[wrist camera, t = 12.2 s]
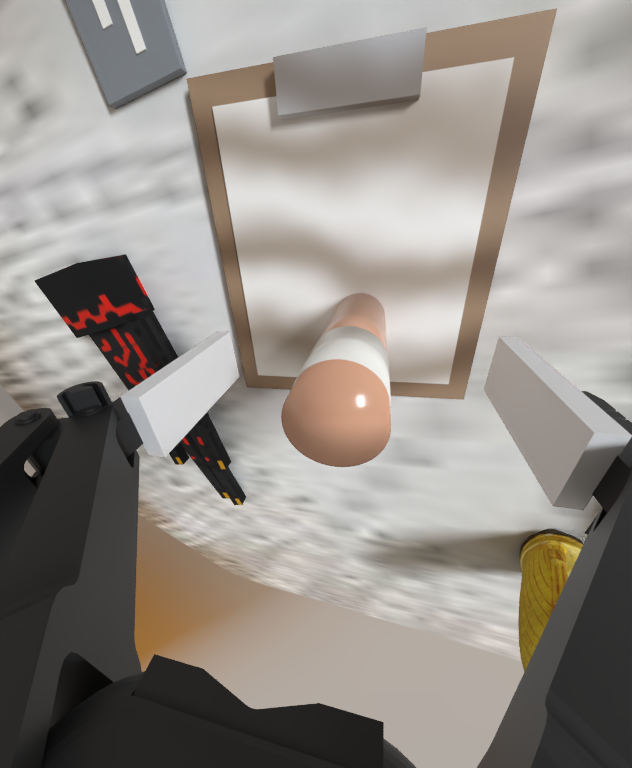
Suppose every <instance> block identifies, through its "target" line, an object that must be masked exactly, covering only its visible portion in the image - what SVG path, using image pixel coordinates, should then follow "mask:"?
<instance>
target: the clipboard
mask: <svg viewBox="0 0 632 768" xmlns="http://www.w3.org/2000/svg"><path fill="white" fill-rule="evenodd" d="M556 10H557V9H552V10H546V11H541V12H536V13H531V14H525V15H520V16H515V17H509V18H504V19H499V20H494V21H488V22H483V23H478V24H473V25H467V26H462V27H457V28H452V29H446V30H441V31H436V32H430V33H426V29H427V27H426V28H421V29H416V30H411V31H406V32H401V33H396V34H390V35H385V36H380V37H375V38H370V39H365V40H359V41H354V42H349V43H344V44H339V45H334V46H328V47H323V48H318V49H313V50H308V51H303V52H297V53H292V54H287V55H282V56H277V57H273V61H274V62H272V63H267V64H262V65H257V66H251V67H246V68H241V69H236V70H230V71H225V72H220V73H215V74H209V75H204V76H199V77H193V78H188V79H187V83H188V88H189V94H190V99H191V104H192V109H193V114H194V119H195V124H196V129H197V134H198V140H199V145H200V150H201V155H202V160H203V165H204V170H205V175H206V180H207V185H208V191H209V196H210V201H211V206H212V211H213V216H214V221H215V226H216V231H217V236H218V242H219V247H220V252H221V257H222V262H223V267H224V272H225V277H226V282H227V288H228V293H229V298H230V303H231V308H232V313H233V318H234V323H235V328H236V333H237V339H238V344H239V349H240V354H241V359H242V364H243V369H244V374H245V379H246V385H247V387H255V388H272V389H290V390H292V388H293V384H294V382H295V380H296V378H297V376H298V375H299V373H300V371H301V369H302V367H303V366H304V364H305V362H306V360H307V359H308V357H309V355H310V353H311V351H312V350H313V348H314V346H315V344H316V343H317V341H318V340H319V339H320V337H321V336H322V334H323V332H324V330H325V328H326V327H327V325H328V323H329V321H330V319H331V317H332V316H333V314H334V312H335V310H336V308H337V307H338V305H339V304H340V302H341V301H342V300H343V299H344V298H346V297H347V296H349V295H352V294H356V293H365V294H369V295H371V296H373V297H375V298H376V299H377V300H378V301H379V302H380V303H381V304H382V306H383V308H384V311H385V319H386V339H387V354H388V360H389V376H390V393H391V395H395V396H412V397H430V398H447V399H464V396H465V392H466V388H467V384H468V379H469V375H470V371H471V367H472V363H473V358H474V354H475V350H476V346H477V342H478V337H479V333H480V329H481V325H482V321H483V317H484V312H485V308H486V304H487V300H488V296H489V291H490V287H491V283H492V279H493V275H494V270H495V266H496V262H497V258H498V254H499V249H500V245H501V241H502V237H503V233H504V228H505V224H506V220H507V216H508V212H509V207H510V203H511V199H512V195H513V191H514V187H515V182H516V178H517V174H518V170H519V166H520V161H521V157H522V153H523V149H524V145H525V140H526V136H527V132H528V128H529V124H530V119H531V115H532V111H533V107H534V103H535V98H536V94H537V90H538V86H539V82H540V77H541V73H542V69H543V65H544V61H545V57H546V52H547V48H548V44H549V40H550V36H551V31H552V27H553V23H554V19H555V15H556Z"/></svg>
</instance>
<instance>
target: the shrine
mask: <svg viewBox="0 0 632 768" xmlns="http://www.w3.org/2000/svg"><path fill="white" fill-rule="evenodd" d="M583 545H584V544H583V543H582V541H581V540H580V539H578V538H576V537H574V536H572V535H569V534H566V533H564V532H560V531H556V530H547V531H543V532H540V533H538V534H535V535H532V536H530V537H528V538H527V540H526V541H525V542H524V543H523V544H522V546H521V550H520V564H521V568H520V569H521V572H522V582H521V591H520V598H519V599H520V601H519V646H520V653H521V660H522V664H523V668H524V672H525V670H526V668H527V666H528V664H529V661H530V659H531V657H532V655H533V653H534V651H535V649H536V646H537V644H538V642H539V640H540V638H541V636H542V633H543V631H544V629H545V627H546V625H547V623H548V620H549V618H550V616H551V614H552V612H553V610H554V607H555V605H556V603H557V601H558V599H559V597H560V594H561V592H562V590H563V588H564V586H565V584H566V582H567V579H568V577H569V575H570V573H571V571H572V569H573V566H574V564H575V562H576V560H577V558H578V556H579V553H580V551H581V549H582V547H583Z"/></svg>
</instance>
